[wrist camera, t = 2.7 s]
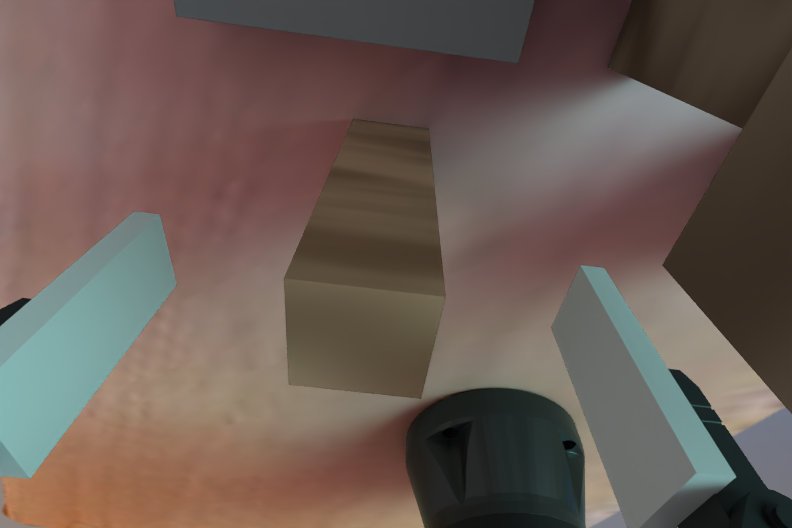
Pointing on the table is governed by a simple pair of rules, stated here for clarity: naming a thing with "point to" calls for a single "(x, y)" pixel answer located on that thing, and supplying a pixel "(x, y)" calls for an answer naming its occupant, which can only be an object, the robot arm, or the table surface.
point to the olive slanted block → (731, 163)
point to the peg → (368, 269)
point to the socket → (386, 22)
